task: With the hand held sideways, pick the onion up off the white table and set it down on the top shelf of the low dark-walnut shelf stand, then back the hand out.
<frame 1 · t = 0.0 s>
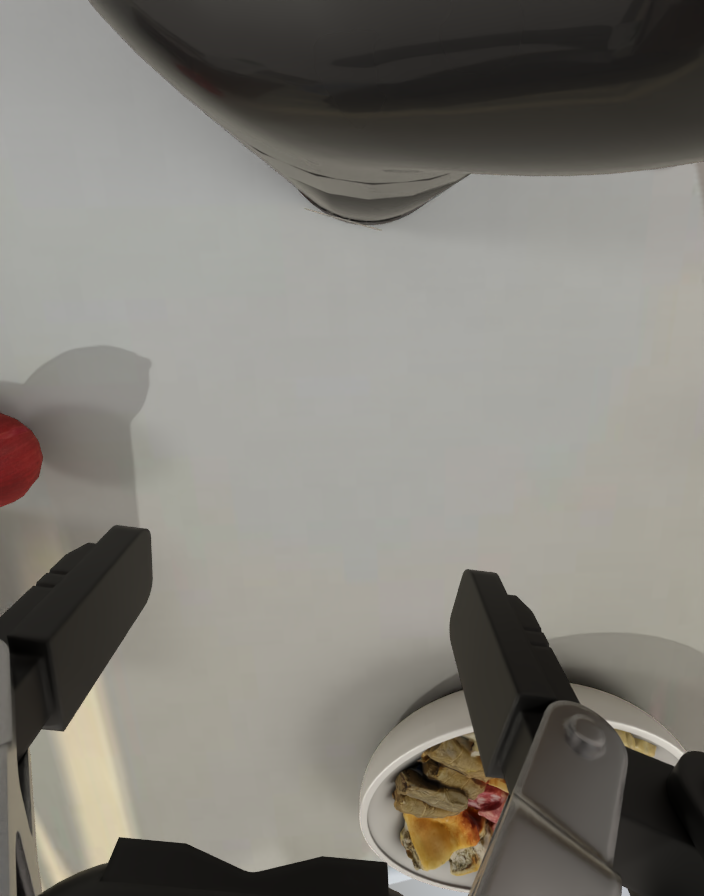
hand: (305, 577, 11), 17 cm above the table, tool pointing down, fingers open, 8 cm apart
bowl: (508, 759, 43), on the table
onion: (26, 434, 29), on the table
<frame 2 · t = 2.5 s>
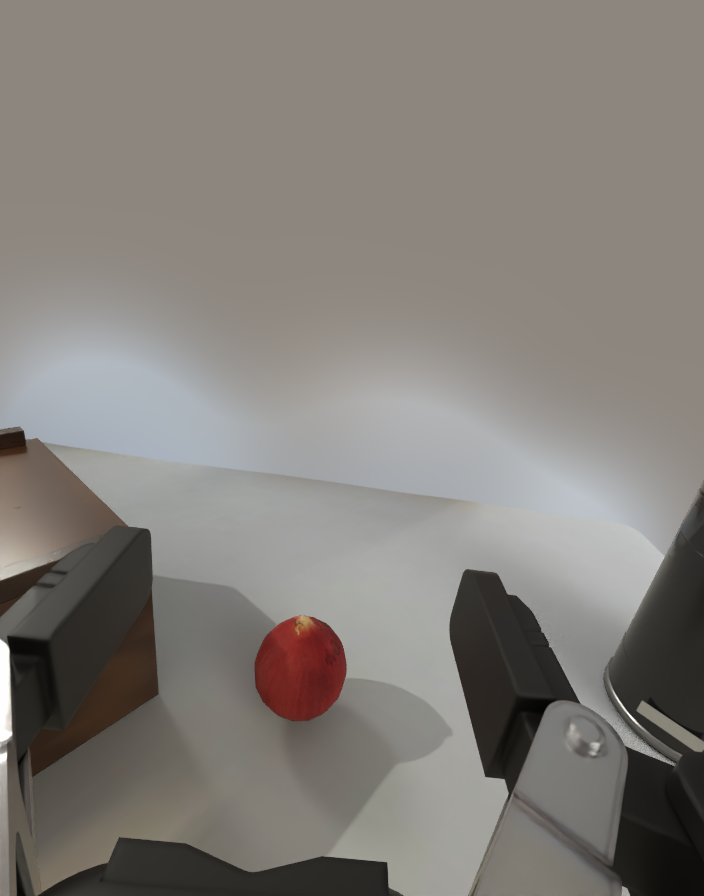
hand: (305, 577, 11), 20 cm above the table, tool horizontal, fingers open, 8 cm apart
onion: (296, 707, 29), on the table
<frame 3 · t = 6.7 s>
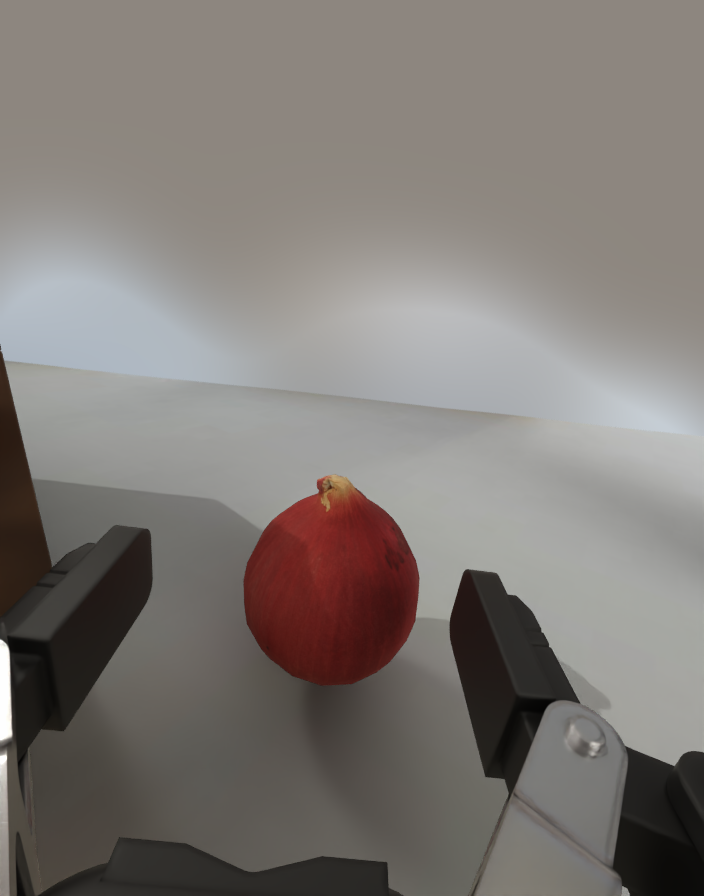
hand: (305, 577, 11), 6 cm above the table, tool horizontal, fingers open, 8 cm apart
onion: (324, 666, 16), on the table
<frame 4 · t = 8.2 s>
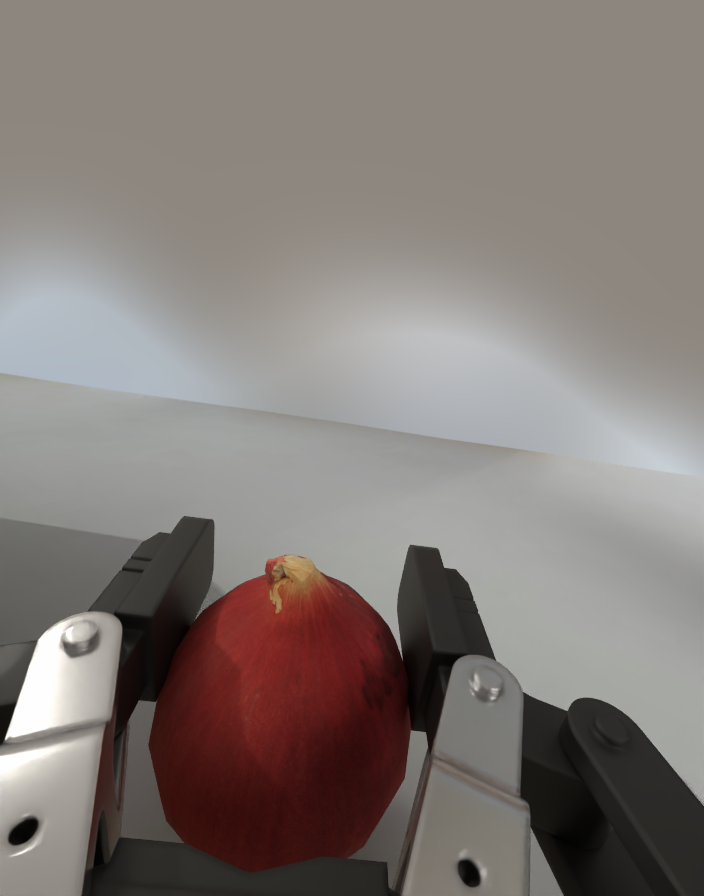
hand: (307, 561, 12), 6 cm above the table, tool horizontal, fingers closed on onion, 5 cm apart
onion: (274, 809, 12), on the table, touching gripper
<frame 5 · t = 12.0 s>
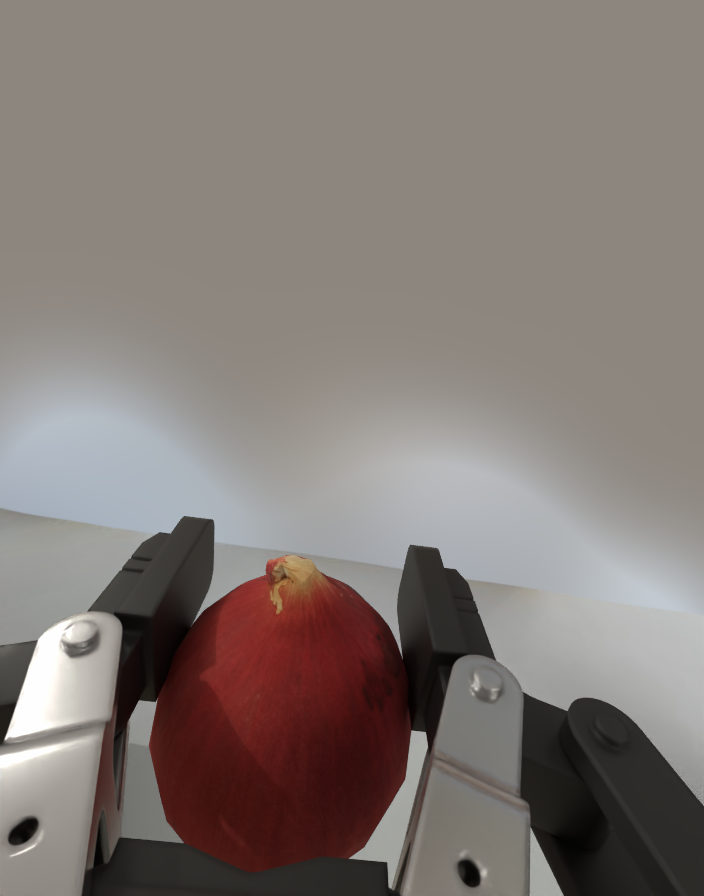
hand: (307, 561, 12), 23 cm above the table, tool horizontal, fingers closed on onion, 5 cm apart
onion: (275, 810, 12), point 17 cm above the table, touching gripper
when the fingers open (18 cm above the table, at t = 16.2 s): onion stays where it is, resting on shelf stand.
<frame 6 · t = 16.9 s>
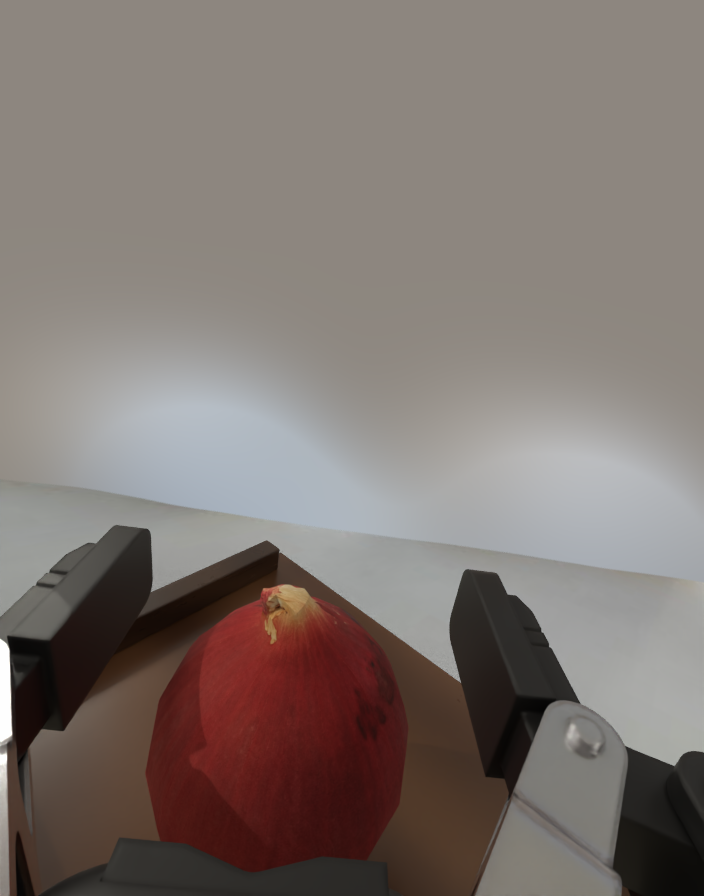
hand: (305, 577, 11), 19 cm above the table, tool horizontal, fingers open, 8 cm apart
onion: (272, 830, 12), point 12 cm above the table, touching shelf stand
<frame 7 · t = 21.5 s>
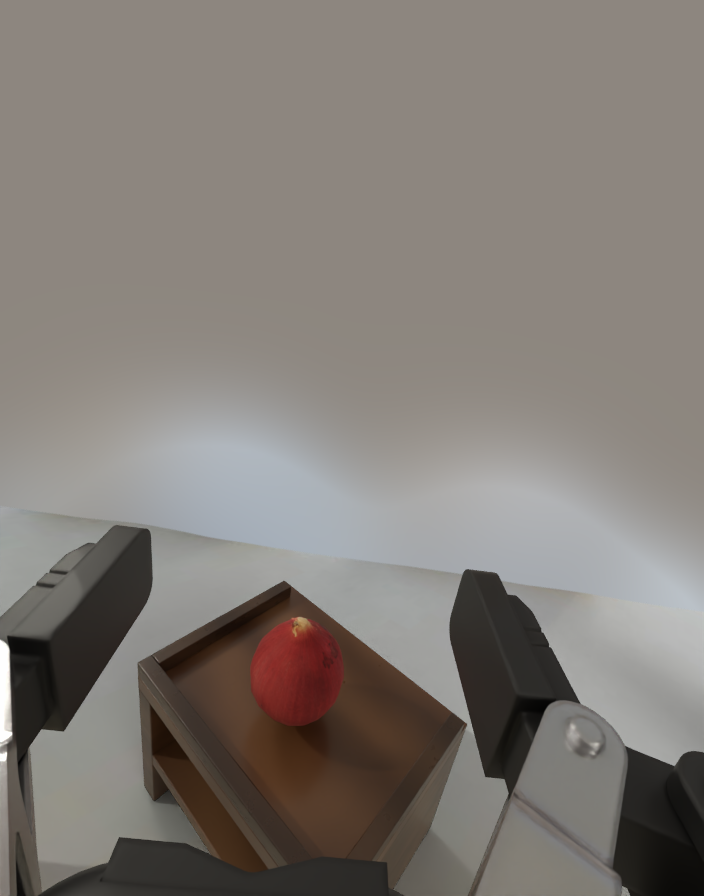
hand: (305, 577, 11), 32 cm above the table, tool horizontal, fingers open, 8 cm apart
shelf stand: (287, 806, 34), on the table
onion: (292, 713, 29), point 12 cm above the table, touching shelf stand
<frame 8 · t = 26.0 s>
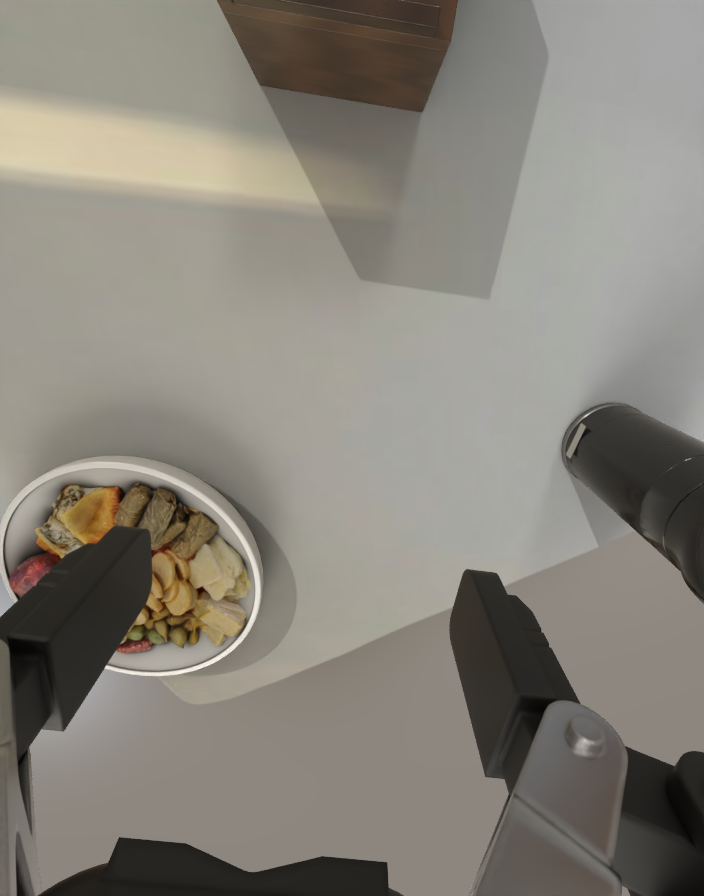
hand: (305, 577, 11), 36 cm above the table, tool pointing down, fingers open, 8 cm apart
bowl: (150, 554, 54), on the table
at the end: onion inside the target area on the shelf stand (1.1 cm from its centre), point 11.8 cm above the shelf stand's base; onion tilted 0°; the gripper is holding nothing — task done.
